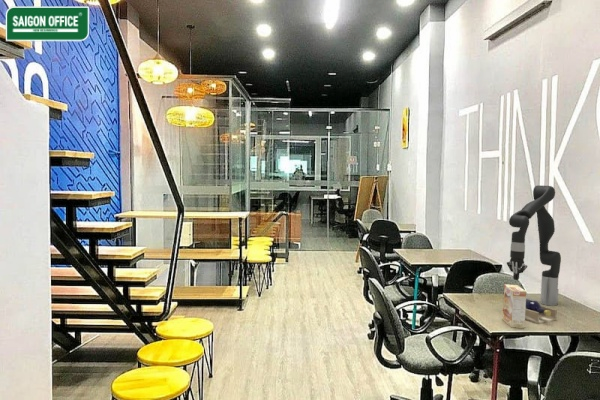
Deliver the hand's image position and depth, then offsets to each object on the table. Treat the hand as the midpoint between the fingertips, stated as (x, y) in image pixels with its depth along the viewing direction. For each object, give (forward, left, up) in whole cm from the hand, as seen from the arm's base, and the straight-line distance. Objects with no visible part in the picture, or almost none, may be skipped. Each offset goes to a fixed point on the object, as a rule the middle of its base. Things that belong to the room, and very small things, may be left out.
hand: (516, 279), depth 289 cm
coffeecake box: (+20, +16, -19) cm, 32 cm away
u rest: (0, +14, -19) cm, 24 cm away
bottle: (-5, -4, -15) cm, 16 cm away
